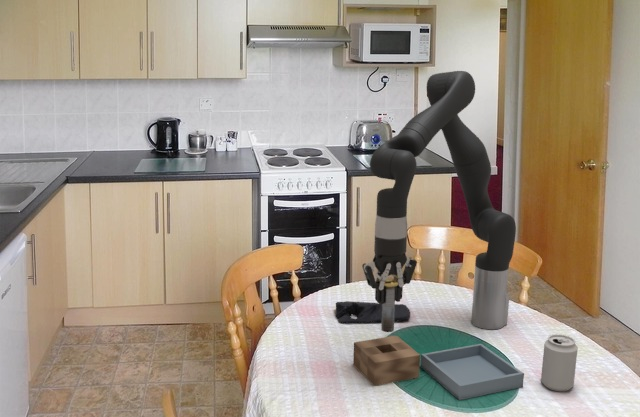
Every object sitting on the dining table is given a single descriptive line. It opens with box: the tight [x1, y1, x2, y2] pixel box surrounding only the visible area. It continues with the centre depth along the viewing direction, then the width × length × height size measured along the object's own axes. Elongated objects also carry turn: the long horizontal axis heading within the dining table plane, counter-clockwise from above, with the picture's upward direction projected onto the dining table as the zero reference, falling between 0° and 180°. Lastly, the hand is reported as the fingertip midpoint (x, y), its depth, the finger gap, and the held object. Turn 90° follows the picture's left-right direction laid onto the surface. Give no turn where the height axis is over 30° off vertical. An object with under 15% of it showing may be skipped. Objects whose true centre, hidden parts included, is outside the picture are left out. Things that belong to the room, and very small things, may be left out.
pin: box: [380, 277, 399, 333], centre depth 175 cm, size 4×4×13 cm
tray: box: [420, 343, 525, 401], centre depth 177 cm, size 18×18×4 cm
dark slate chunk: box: [335, 300, 411, 324], centre depth 214 cm, size 15×22×5 cm
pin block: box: [352, 335, 421, 387], centre depth 179 cm, size 12×12×6 cm
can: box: [540, 333, 579, 392], centre depth 172 cm, size 8×8×12 cm
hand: (388, 301), depth 175 cm, fingers closed on pin, 4 cm apart
